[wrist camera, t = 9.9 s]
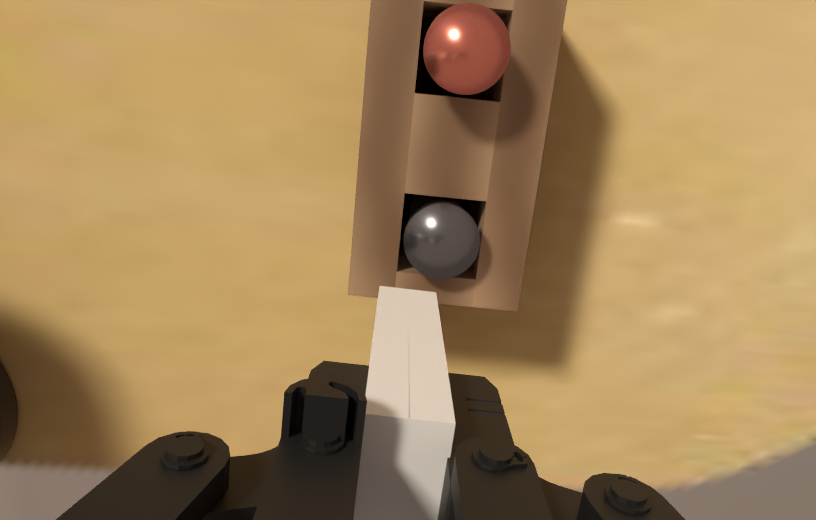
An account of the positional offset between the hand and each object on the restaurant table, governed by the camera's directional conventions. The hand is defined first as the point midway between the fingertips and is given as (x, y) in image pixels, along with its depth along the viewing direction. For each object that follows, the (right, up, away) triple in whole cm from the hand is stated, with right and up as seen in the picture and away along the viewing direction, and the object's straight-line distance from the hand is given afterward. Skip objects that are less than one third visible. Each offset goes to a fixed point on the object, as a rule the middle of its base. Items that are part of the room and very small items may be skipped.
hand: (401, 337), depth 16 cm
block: (+3, +10, +24) cm, 26 cm away
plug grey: (+2, +5, +25) cm, 25 cm away
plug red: (+3, +14, +21) cm, 25 cm away
